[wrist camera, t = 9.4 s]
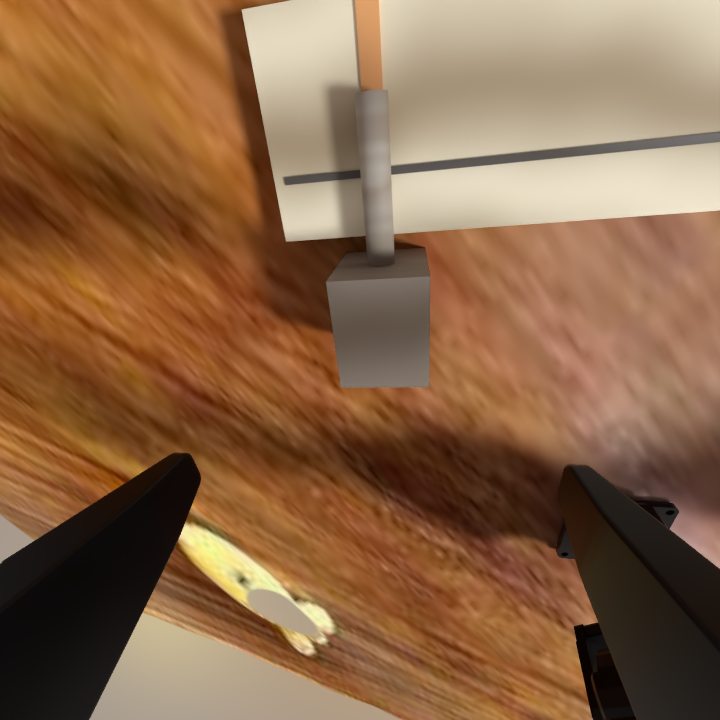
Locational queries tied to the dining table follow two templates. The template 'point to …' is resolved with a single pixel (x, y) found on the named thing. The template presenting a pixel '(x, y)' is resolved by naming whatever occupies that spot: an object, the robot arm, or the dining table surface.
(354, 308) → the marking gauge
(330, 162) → the birch plank
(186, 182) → the dining table surface
